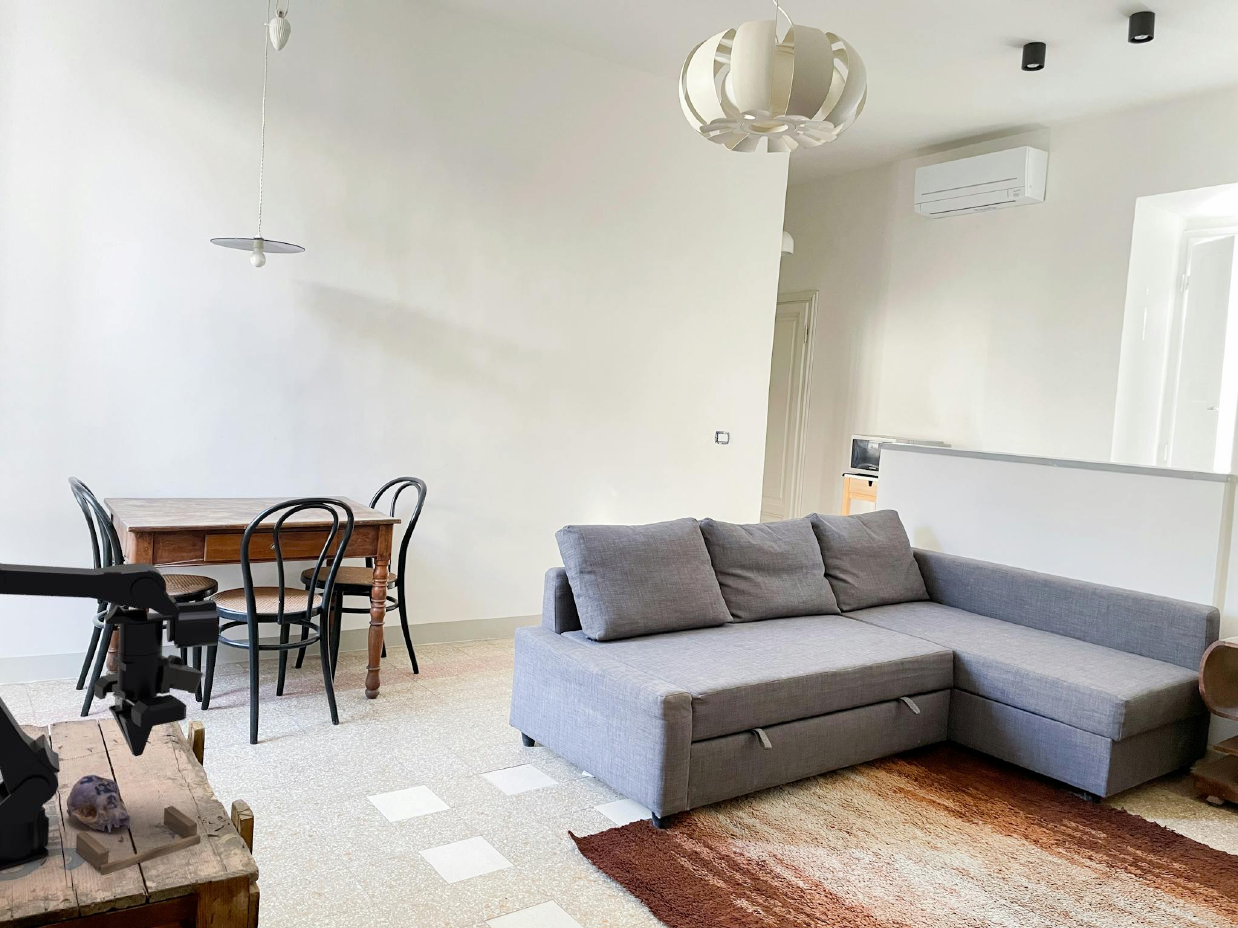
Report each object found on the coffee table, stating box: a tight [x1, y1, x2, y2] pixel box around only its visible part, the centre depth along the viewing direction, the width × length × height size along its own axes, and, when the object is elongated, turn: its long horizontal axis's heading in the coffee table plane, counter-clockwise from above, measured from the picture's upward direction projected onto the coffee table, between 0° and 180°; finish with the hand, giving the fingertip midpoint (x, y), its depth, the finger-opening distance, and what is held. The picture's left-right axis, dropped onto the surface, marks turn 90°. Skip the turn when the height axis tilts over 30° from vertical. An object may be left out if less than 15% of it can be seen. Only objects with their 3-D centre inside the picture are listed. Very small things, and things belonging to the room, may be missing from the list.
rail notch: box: [75, 805, 201, 876], centre depth 132 cm, size 13×9×2 cm
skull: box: [66, 774, 131, 833], centre depth 139 cm, size 12×8×6 cm, turn 48°
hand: (137, 754), depth 135 cm, fingers closed
